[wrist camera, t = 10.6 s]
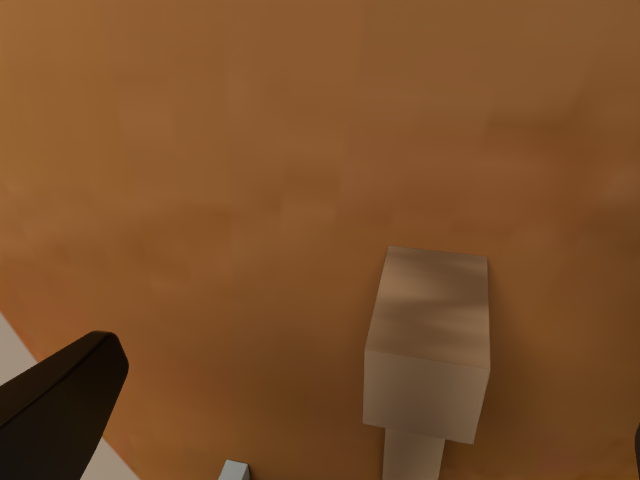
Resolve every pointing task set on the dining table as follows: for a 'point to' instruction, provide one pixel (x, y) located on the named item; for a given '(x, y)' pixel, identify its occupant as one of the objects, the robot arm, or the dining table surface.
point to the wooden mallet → (426, 357)
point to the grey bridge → (234, 471)
